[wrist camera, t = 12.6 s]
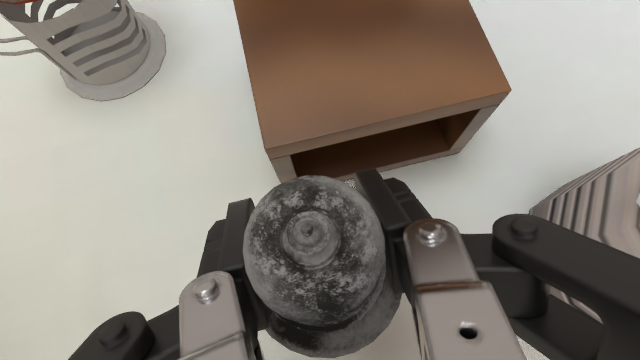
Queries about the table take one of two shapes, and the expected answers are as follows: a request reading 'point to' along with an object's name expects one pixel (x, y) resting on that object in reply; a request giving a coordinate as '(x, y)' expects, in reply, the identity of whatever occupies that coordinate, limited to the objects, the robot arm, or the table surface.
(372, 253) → the chess piece
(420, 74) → the l-shaped wooden block
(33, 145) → the table surface
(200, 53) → the table surface
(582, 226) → the can
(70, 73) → the french press
